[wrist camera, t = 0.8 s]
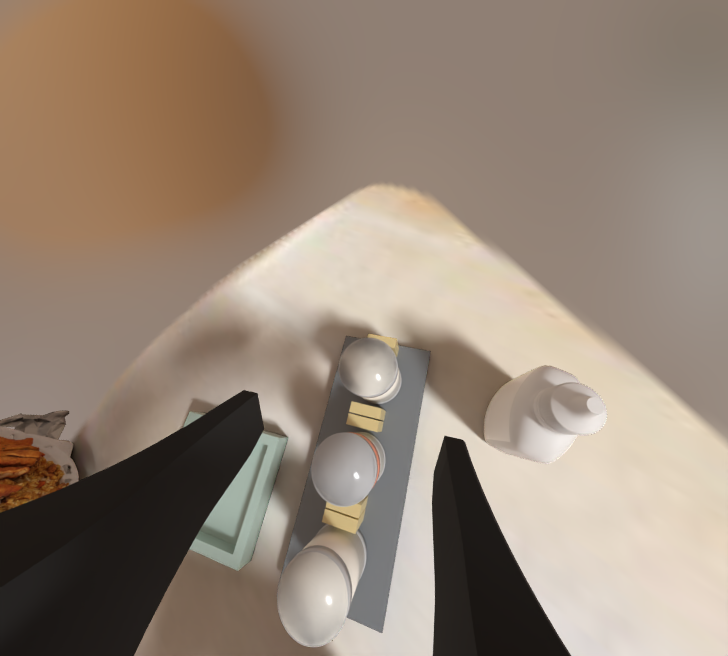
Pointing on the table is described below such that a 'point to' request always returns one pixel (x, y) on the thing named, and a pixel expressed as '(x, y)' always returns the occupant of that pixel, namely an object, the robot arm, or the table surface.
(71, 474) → the meal
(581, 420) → the eye dropper bottle
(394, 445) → the fuse holder
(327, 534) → the fuse
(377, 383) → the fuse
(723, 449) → the table surface
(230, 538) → the tray
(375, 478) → the cylinder
